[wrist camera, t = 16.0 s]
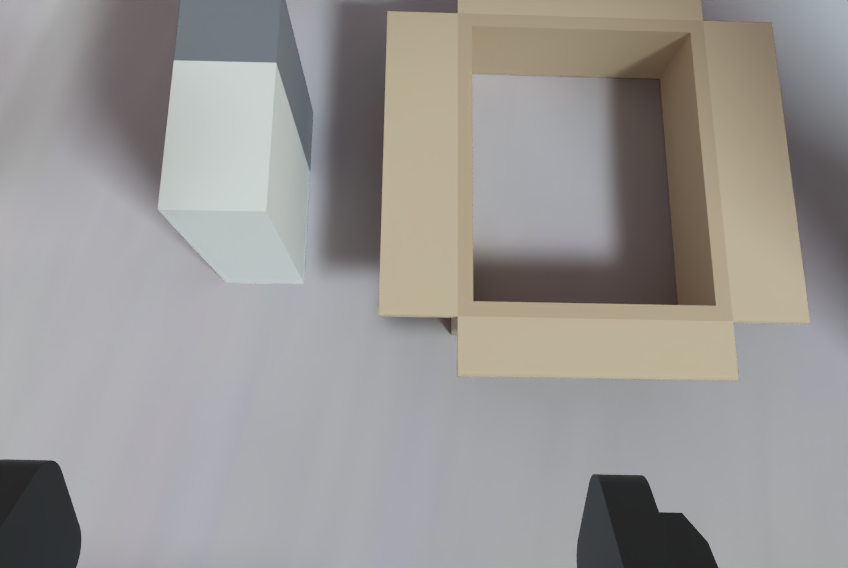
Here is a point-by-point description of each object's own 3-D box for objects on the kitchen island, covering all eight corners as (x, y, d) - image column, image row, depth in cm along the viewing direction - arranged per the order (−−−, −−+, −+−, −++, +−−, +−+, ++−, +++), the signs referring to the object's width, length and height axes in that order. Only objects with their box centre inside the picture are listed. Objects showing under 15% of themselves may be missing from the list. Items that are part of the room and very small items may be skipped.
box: (313, 112, 44) (281, -16, 33) (304, 284, 41) (266, 211, 30) (239, 110, 44) (182, -18, 32) (226, 282, 41) (157, 209, 30)
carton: (728, 29, 47) (766, -23, 42) (767, 392, 41) (817, 381, 36) (390, 18, 46) (388, -35, 41) (379, 385, 40) (376, 374, 35)
